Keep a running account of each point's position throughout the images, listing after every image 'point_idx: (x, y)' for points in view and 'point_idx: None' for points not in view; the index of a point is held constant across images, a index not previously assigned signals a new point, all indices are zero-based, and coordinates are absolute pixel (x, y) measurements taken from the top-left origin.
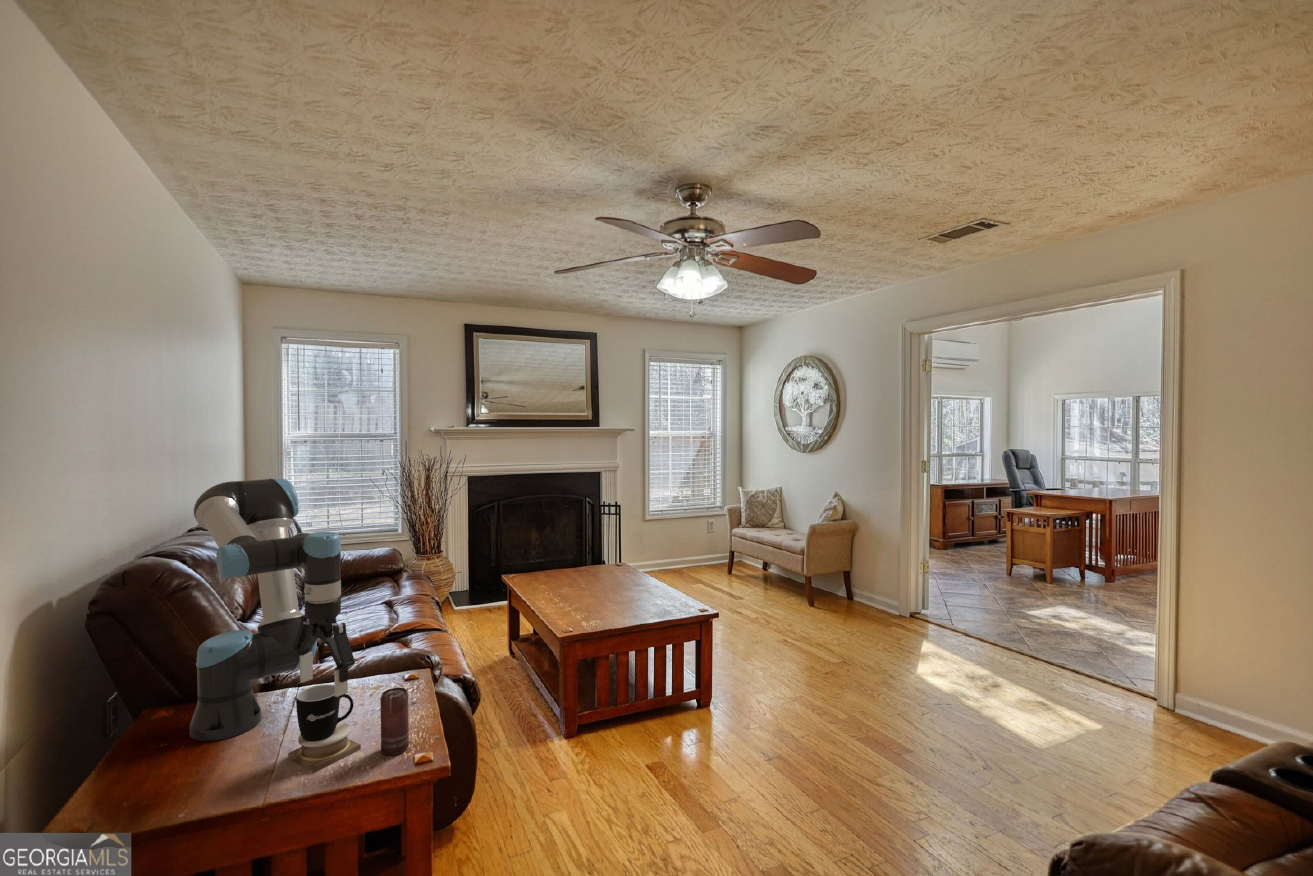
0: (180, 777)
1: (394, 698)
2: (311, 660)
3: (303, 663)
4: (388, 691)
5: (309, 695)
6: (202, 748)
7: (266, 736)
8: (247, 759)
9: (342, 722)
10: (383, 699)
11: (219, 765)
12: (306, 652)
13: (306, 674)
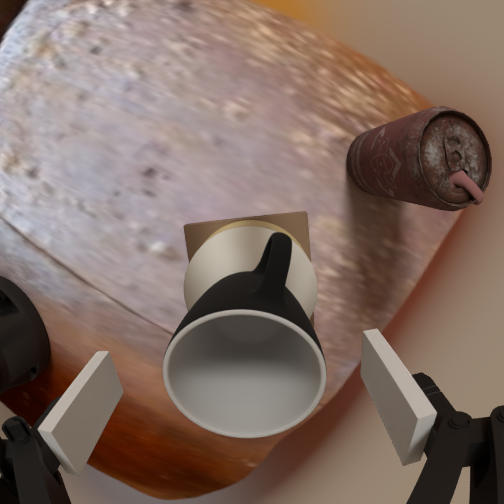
0: (137, 434)
1: (484, 187)
2: (73, 411)
3: (90, 442)
4: (421, 155)
5: (176, 364)
6: (61, 382)
7: (78, 310)
8: (147, 371)
9: (229, 231)
10: (453, 209)
11: (136, 399)
12: (47, 452)
13: (106, 393)
